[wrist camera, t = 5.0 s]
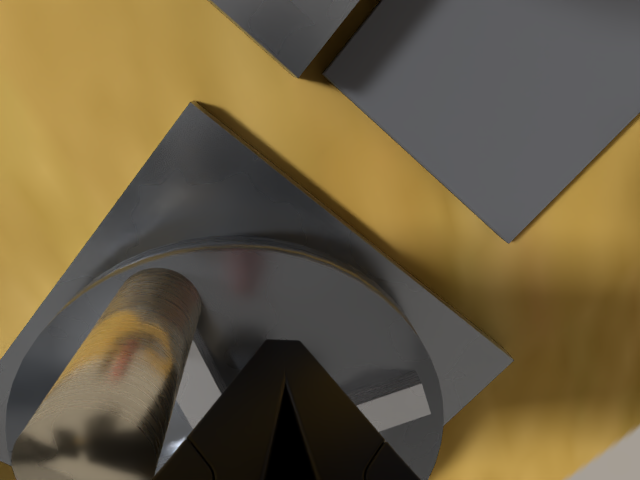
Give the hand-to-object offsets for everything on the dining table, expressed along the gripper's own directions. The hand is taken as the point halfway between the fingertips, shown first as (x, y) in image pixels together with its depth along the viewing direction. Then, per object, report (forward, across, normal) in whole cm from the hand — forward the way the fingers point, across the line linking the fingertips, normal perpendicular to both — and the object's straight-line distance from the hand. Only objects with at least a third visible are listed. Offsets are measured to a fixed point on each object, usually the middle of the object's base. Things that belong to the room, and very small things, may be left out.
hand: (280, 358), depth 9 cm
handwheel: (+2, +1, +4) cm, 5 cm away
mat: (+4, -6, -6) cm, 9 cm away
